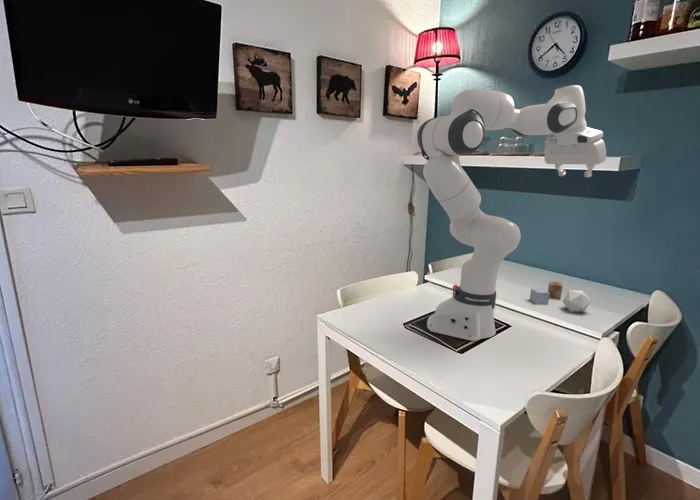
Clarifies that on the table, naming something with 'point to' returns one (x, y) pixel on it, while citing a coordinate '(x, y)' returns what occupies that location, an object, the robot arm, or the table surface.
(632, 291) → the table surface
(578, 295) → the die
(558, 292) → the walnut block
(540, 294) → the slate block
